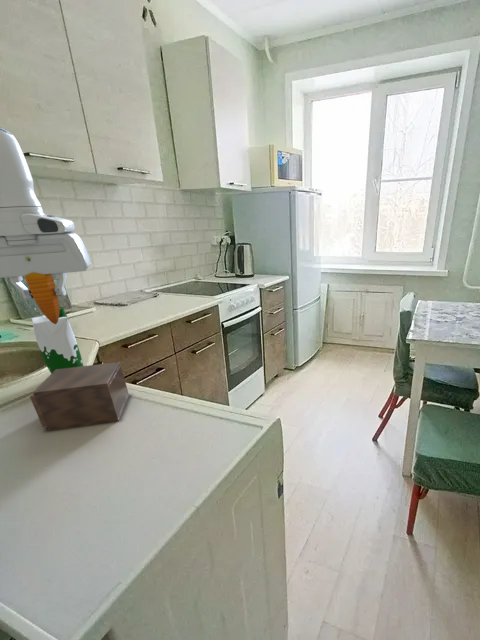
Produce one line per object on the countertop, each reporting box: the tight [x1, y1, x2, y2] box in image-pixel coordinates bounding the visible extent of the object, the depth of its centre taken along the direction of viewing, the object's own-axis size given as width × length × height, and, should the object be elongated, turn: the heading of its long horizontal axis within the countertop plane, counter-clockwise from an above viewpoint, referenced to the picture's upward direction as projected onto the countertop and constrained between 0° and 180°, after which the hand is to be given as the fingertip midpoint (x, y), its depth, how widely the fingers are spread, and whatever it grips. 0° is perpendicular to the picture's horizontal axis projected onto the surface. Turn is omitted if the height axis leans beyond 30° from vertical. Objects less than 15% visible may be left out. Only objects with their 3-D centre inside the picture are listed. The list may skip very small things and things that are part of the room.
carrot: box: [24, 257, 60, 324], centre depth 73 cm, size 5×5×15 cm
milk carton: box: [31, 306, 84, 375], centre depth 100 cm, size 9×9×20 cm
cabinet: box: [32, 361, 130, 432], centre depth 82 cm, size 15×13×10 cm
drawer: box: [29, 392, 47, 428], centre depth 82 cm, size 15×11×8 cm
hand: (46, 296), depth 74 cm, fingers closed on carrot, 5 cm apart
